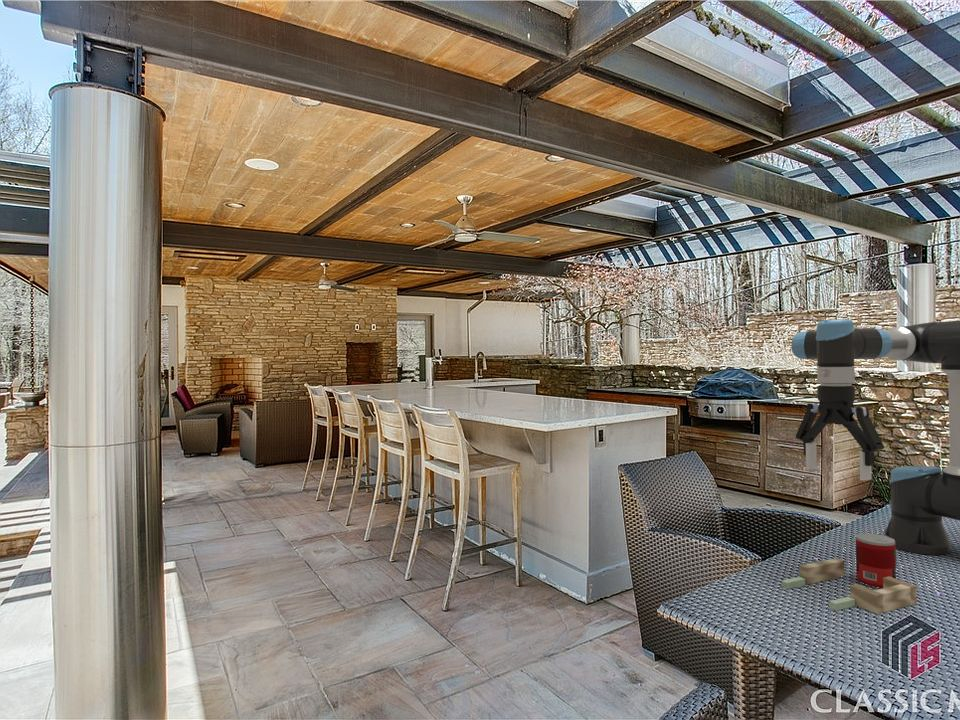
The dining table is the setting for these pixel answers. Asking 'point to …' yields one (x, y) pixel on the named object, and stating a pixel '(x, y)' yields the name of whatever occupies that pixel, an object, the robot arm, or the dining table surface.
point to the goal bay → (833, 604)
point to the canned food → (875, 558)
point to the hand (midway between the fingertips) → (837, 474)
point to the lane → (874, 601)
